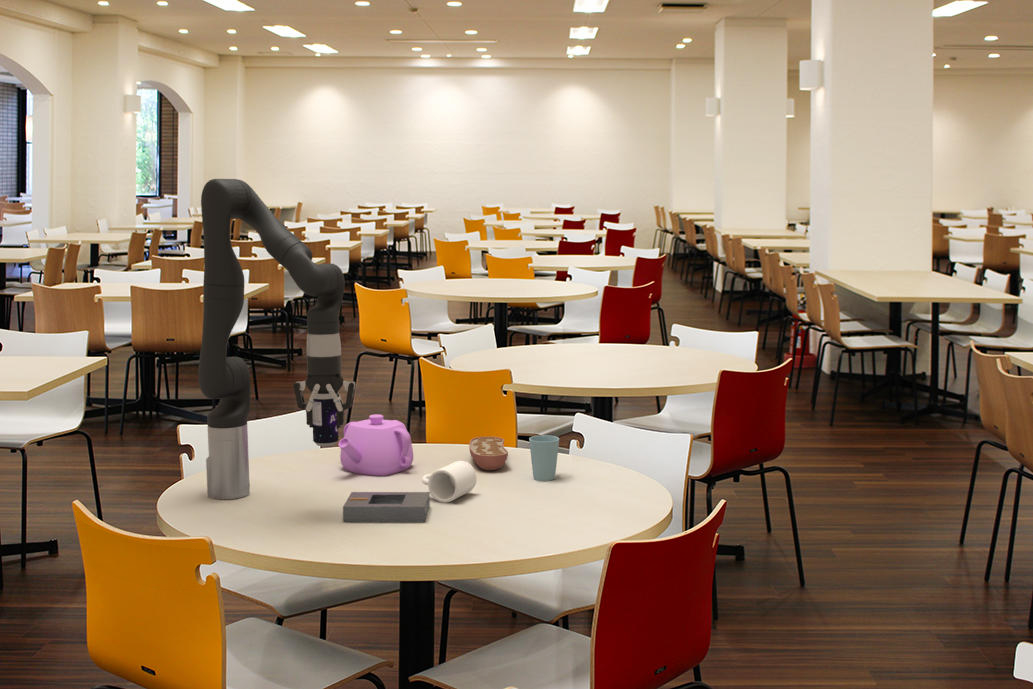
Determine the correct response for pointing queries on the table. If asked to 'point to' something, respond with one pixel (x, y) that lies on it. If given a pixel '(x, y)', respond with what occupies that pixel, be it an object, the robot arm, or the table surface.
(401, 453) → the teapot
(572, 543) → the table surface
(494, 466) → the anatomical model
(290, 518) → the table surface
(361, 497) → the jig
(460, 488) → the mug
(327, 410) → the beverage can
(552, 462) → the cup
